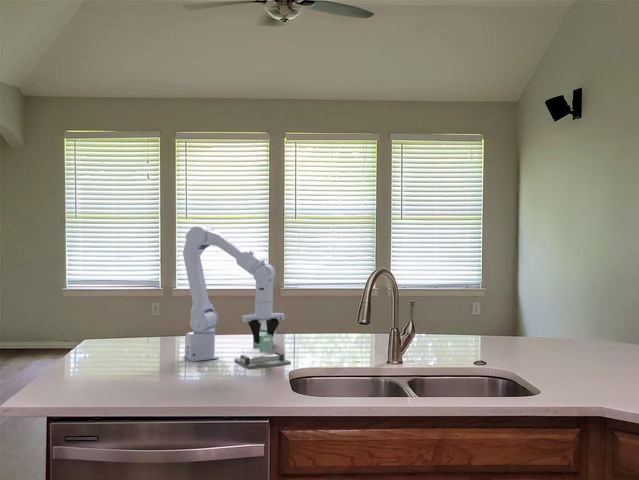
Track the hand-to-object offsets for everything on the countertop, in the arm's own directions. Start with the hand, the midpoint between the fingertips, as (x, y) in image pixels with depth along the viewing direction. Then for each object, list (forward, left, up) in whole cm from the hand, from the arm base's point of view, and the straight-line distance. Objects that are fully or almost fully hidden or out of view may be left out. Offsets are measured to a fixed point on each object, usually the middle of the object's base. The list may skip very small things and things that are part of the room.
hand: (263, 342), depth 178 cm
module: (0, 0, -2) cm, 2 cm away
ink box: (+13, +23, -7) cm, 27 cm away
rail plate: (0, 0, -7) cm, 7 cm away
